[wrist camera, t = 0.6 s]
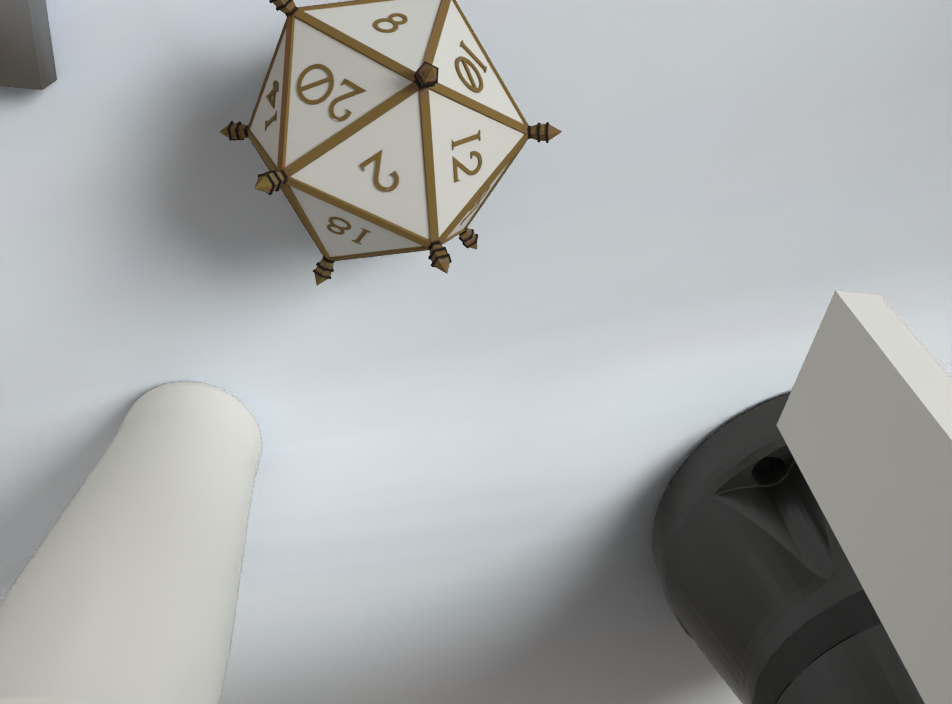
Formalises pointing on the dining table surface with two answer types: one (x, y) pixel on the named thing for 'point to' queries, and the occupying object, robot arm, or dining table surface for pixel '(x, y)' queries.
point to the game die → (384, 127)
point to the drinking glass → (140, 562)
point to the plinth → (25, 45)
